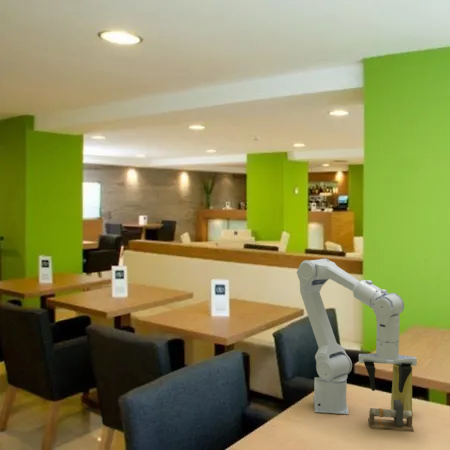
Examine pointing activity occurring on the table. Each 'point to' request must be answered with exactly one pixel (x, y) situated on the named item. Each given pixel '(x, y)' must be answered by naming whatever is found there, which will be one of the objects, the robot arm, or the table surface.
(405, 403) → the vase
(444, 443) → the table surface
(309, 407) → the table surface
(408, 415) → the pipe stand
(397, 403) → the dark grey square frame
